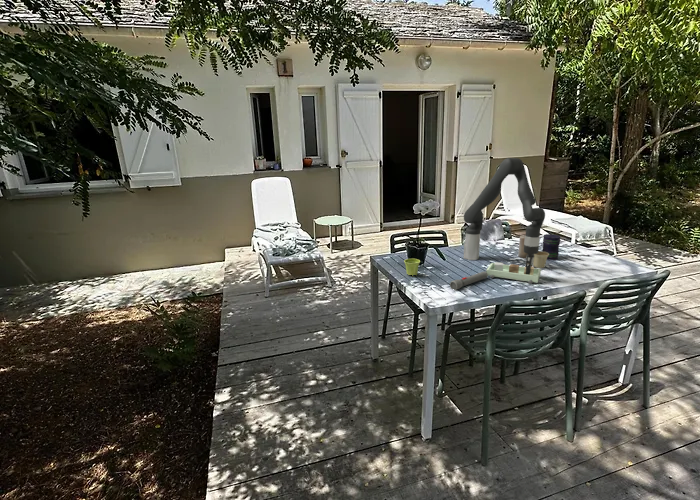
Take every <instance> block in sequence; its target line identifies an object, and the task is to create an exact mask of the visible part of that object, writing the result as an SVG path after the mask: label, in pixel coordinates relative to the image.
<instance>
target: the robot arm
mask: <svg viewBox="0 0 700 500" xmlns="http://www.w3.org/2000/svg"><path fill="white" fill-rule="evenodd" d="M509 175H511V176H512V175H514V177H515V179H516V180H517V195H518V198H519V200H520V204H521V205H522V206H521V207H522V213H523V218H524V219H525V220H526V222H530V224H529V225H527V226H526V228H525V234H524V235H525V240H524V252H525V253H527V254H528V255H527V256H526V258H525V265H524V267H525V268H526V274H527V275H530V270H531V267H533V266H534V264H533V261H534V257H535V256H534V254H537V253H538V251H540V250H539V249H540V235H541V229H542V226H543V224H544V221H545V218H546V212H545V211H546V210H544V209H543V208H542V207H534V208H533V205H535V204H536V202H537V201H536V200H537V199H536V198H535V195H534V192H533V191H532V189H531V186H530V183H529V181H528V179H529V178H528V176H527V172H526V168H525V165H524V162H523V160H522V159H521V158H517V157H506V158H505V159H503V160H502V162H501V163H500V164H499V166H498V168H497V170H496V171H495V173H494V175H493V176H492V178H491V179H490V180H489V182H488V183H487V184H486V185H485V187H484V188H483V190H481V192H480V194H479V195H478V196H477V198H476V199H475V200H474V202H473V203H472V204H471V205H470V206H469V207H468V208H467V209H466V210H465V211H464V214H463V220H464V222H465V223H466V224H470V225H469V226H467V228H465V239H464V245H463V259H464V260H469V261H475V260H476V261H477V260H479V258H480V245H481V243H480V241H481V231H482V230H483V224H484V223H483V222H484V213H483V210H484V209H485V208H487V207H489V206H490V205H491V204H492V203H493V202H495V200H496V199H497V198H498V197H499V196H500V193H501V191H502V184H503V182H504V180H505V179H506V178H507V177H508V176H509Z"/></svg>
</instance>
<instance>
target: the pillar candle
mask: <svg viewBox="0 0 700 500" xmlns="http://www.w3.org/2000/svg"><path fill="white" fill-rule="evenodd" d="M525 235H526V234H524V235H520V236H519V241H518V243H519V244H518V251H517V252H518V253H517V255H518V258H521V259H526V256H527V255H528V254H527V253H525V252H524V240H525Z"/></svg>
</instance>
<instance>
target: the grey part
mask: <svg viewBox="0 0 700 500" xmlns="http://www.w3.org/2000/svg"><path fill="white" fill-rule="evenodd" d="M494 263H495V270H497V271H503V264H504V262H496V261H495V262H494Z"/></svg>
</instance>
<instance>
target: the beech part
mask: <svg viewBox="0 0 700 500" xmlns="http://www.w3.org/2000/svg"><path fill="white" fill-rule="evenodd" d="M534 268H535V266H532V267H531V270H530V275H533V273H534ZM524 274H526V268H524Z"/></svg>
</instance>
